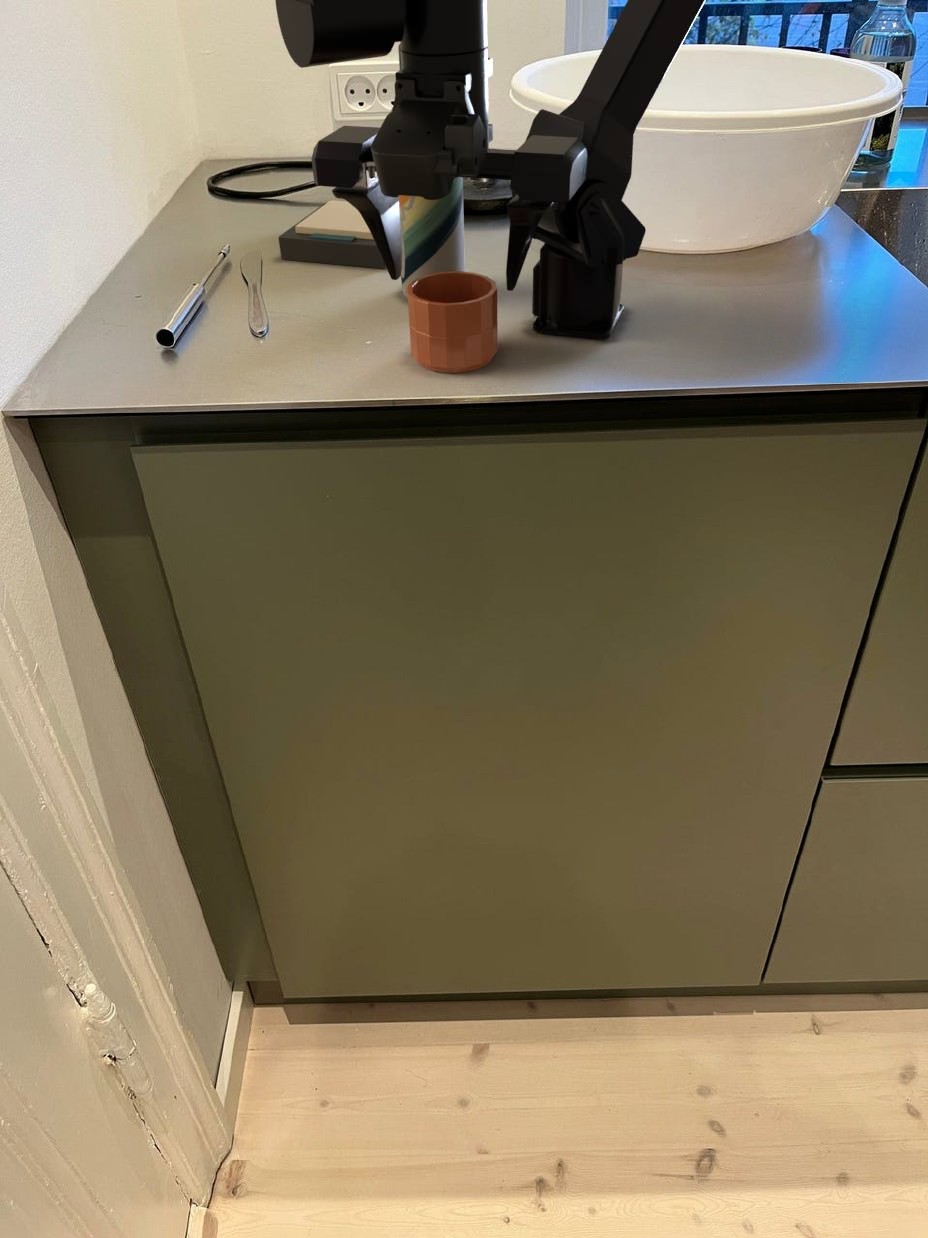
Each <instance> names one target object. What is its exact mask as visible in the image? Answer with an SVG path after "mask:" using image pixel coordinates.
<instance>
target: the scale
mask: <svg viewBox="0 0 928 1238" xmlns="http://www.w3.org/2000/svg"><path fill="white" fill-rule="evenodd" d="M278 244H279V252H280V259H281V260H287V261H288V260H289V261H297V262H305V263H307V262H308V263H317V264H318V263H319V264H327V265H328V264H329V265H337V266H339V265H340V266H347V267H348V266H349V267H360V268H370V269H380V270H381V269H382V270H387V268H386V266H385V263H384V261H383V259H382V257H381V254H380V252H379V250H378V248H377V245H376V243H375V241H374V238H373V236H372V234H371V232H370V230H369V228H368V226H367V224H366V223H365V221H364V219H363V217H362V216H361V214H360V213H359V211H358V210H357V209H356V208H355V207H353V206H352V205H351V204H350V203H349V202H348V201H346V200H345V201H344V200H333V199H332V200H329V201H328V202H325V203H323V204H322V205H320V206H319V207H317V208H316V209H315V210H313V211H312V212H311V213H309V214H307V215H306V216H305V217H304V218H302V219H301V220H300V221H298V222H297V223H295V224H294V225H293V226H291V227H290V228H288V229H287V230H286V231H284V232H283V233H282V234H280V235H278Z"/></svg>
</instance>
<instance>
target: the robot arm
mask: <svg viewBox="0 0 928 1238" xmlns="http://www.w3.org/2000/svg"><path fill="white" fill-rule="evenodd" d="M705 2H706V0H627V1H626V3H625V5H624V7H623V9H622V10H621V13H620V15H619V17H618V19H617V21H616V23H615V25H614V26H613V28H612V30H611V32H610V34H609V35H608V38H607V40H606V42H605V44H604V45H603V48H602V50H601V52H600V53H599V56H598V57H597V59H596V61H595V63H594V65H593V67H592V69H591V71H590V72H589V74H588V77H587V79H586V80H585V83H584V84H583V86H582V88H581V90H580V92H579V94H578V96H577V97H575V100H574V101H573V102H572V103H570V105H568V106H567V107H566V108H564V109H563V110H562V111H561V112H560V113H556V112H553V111H549V110H546V109H544V108H542V109H539V111H538V112H537V113H536V115H535V116H534V118H533V120H532V123H531V125H530V128H529V131H528V134H527V136H526V138H525V141H524V142H523V143H522V144H521V145H520V146H519V147H518V148H517V149H503V148H502V149H501V148H490V143H491V142H492V141H493V140H494V124H493V123H490V120H489V119H490V118H489V116H490V115H489V78H490V77H491V76H493V57H489V49H488V48H489V47H488V45H489V44H488V39H489V38H488V0H275V8H276V16H277V21H278V25H279V30H280V33H281V36H282V39H283V42H284V45H285V46H284V47H285V48H286V50H287V52H288V55H289V56H290V58H291V59H292V61H293V62H294V64H295V65H297V67H299V68H301V69H303V68H311V67H319V66H325V65H331V64H339V63H345V62H353V61H360V60H368V59H374V58H375V59H376V58H381V57H387V56H388V55H389V54H390V53H391V52H392V50H393V48H394V46H395V44H396V43H399V44H400V46H401V63H402V69H401V70H400V69H399V70H398V71H396V72H395V73H394V74H395V82H394V99H393V104H392V108H393V109H392V108H391V109H392V112H391V111H390V112H389V113H388V114H387V115H386V116H385V118H384V120H383V122H382V124H381V126H380V127H378V126H377V127H376V126H359V125H343V126H341V127H339V128H337V129H336V130H334V131H332V132H331V133H330V134H328V135H326V136H325V137H323V138H321V139H319V140H318V141H317V143H316V144H315V146H314V147H313V150H312V156H311V166H312V167H311V168H312V175H313V183H314V185H316V186H317V187H327V188H328V187H329V188H332V190H331V192H332V194H333V196H334V197H335V198H336V199H341V200H345V201H346V202H349V203H350V204H351V205H352V206H353V207H355V208H356V209H357V210H358V211H359V213H360V214H361V216H362V217H363V219H364V221H365V223H366V224H367V226H368V228H369V230H370V232H371V234H372V236H373V238H374V241H375V243H376V245H377V248H378V250H379V252H380V254H381V257H382V259H383V261H384V263H385V266H386V270H387V272H388V274H389V277H390V279H391V280H392V281H398V280H399V279H400V278H401V266H402V244H401V227H400V210H399V195H404V196H418V197H423V198H424V199H426V200H438V199H442V198H444V197H445V196H447V195H448V194H449V193H450V191H451V189H452V184H453V181H454V179H455V178H459V177H463V178H468V179H469V178H470V179H485V180H499V181H501V180H503V181H510V183H509V190H510V191H511V199H510V201H509V202H508V203H507V204H506V209H507V213H508V218H509V229H508V231H509V232H508V245H507V256H506V269H505V279H506V290H507V291H508V292H512V291H514V289H516V286H517V284H518V282H519V278H520V275H521V272H522V270H523V267H524V264H525V261H526V259H527V256H528V254H529V250H530V247H531V244H532V241H533V240H537V241H539V242H542V243H544V244H543V245H542V246H541V247H540V248H539V259H538V260H537V262H536V263H535V265H534V266H533V267H532V298H531V299H532V301H531V303H532V304H531V306H532V307H531V309H532V310H531V313H532V315H533V316H534V317H536V318H535V320H534V321H533V323H532V331H533V332H537V333H547V334H556V335H566V336H575V337H583V338H593V339H604V340H605V339H610V338H611V337H612V334H613V332H614V331H615V328H616V326H617V325H618V323H619V321H620V318H621V316H622V315H623V314H624V313H623V312H624V309H625V306H624V304H622V303H621V293H622V281H623V268H624V261H626V260H628V259H632V258H635V257H637V256H638V254H639V252H640V249H641V247H642V243H643V240H644V237H645V235H646V227H645V225H643V223H642V222H641V220H639V219H638V218H637V216H636V215H635V214H634V213H633V211H632V210H631V209H630V208H629V207H628V206H627V205H626V204H625V202H624V201H623V199H624V196H625V194H626V191H627V188H628V187H629V184H630V181H631V178H632V172H633V171H632V170H633V156H634V155H633V153H634V137H635V133H636V130H637V128H638V126H639V124H640V122H641V120H642V119H643V117H644V115H645V113H646V111H647V109H648V108H649V106H650V104H651V101H652V100H653V98H654V96H655V95H656V93H657V91H658V89H659V87H660V86H661V84H662V82H663V79H664V78H665V76H666V74H667V72H668V71H669V69H670V67H671V65H672V63H673V62H674V59H675V58H676V57H677V54H678V52H679V50H680V48H681V46H682V44H683V43H684V41H685V39H686V37H687V36H688V33H689V32H690V30H691V28H692V26H693V24H694V22H695V20H696V19H697V17H698V16H699V13H700V11H701V9H702V8H703V6H704V4H705Z"/></svg>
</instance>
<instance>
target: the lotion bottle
mask: <svg viewBox="0 0 928 1238" xmlns="http://www.w3.org/2000/svg"><path fill="white" fill-rule="evenodd" d="M397 50H398V66H399V67H398V68H399V71H400V70H401V69H402V63H401V46H400V43H399V44H398V47H397ZM392 109H393V107H392V108H391V109H390V112H392ZM463 178H464V177H459V178H455V179H454V181H453V184H452V189H451V191H450V193H449V194H448V195H447V196H445V197H444V198H442V199H438V200H426V199H424V198H423V197H418V196H404V195H399V210H400V227H401V244H402V266H401V276H400V279H401V280H400V281H401V290H402V294H403V296H404V297H405V298H406V299H407V300H408V296H407V286H408V285H409V284H410V283H411V282H412V281H413V280H415V279H418V278H420V277H422V276H424V275H429V274H433V273H438V272H450V271H462V272H466V262H465V261H466V258H465V255H466V254H465V217H464V179H463Z"/></svg>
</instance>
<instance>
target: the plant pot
mask: <svg viewBox="0 0 928 1238" xmlns="http://www.w3.org/2000/svg"><path fill="white" fill-rule="evenodd" d="M407 296H408V299H407V308H408V325H409V340H410V341H409V342H410V355H411V357H413V359H414V360H415V361H416V363H417V364H418V365H420V366H421V367H423V368H424V369H426V370H430V371H434V372H439V373H446V374H447V373H449V374H456V373H457V374H458V373H465V372H470V371H474V370H478V369H480V368H483V367H485V366H486V365H487V364H489V363H490V362H491V361H492V360H493V358H494V356H495V355H496V354H497V353H498V344H499V343H498V339H499V338H498V286H497V281H495V280H493V279H492V278H490V277H489V276H486V275H484V274H480V273H476V272H471V271H465V272H462V271H450V272H438V273H433V274H429V275H424V276H422V277H420V278H418V279H415V280H413V281H412V282H411V283H410V284H409V285H408V286H407Z"/></svg>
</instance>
